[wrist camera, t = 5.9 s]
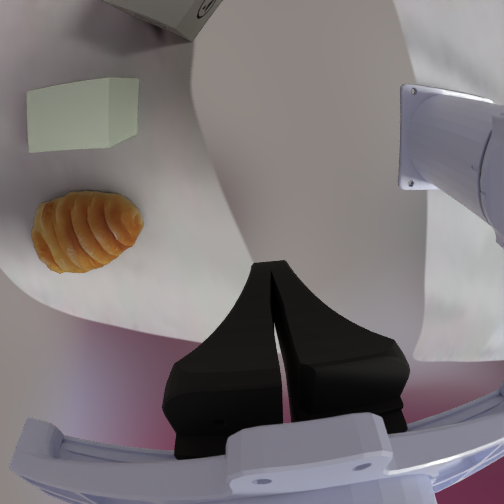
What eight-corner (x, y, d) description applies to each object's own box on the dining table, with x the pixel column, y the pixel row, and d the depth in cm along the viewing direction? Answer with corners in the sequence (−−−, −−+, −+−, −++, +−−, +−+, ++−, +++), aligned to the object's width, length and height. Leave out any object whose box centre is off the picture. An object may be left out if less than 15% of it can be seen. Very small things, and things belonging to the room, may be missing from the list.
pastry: (129, 167, 21) (109, 183, 17) (158, 246, 24) (145, 273, 21) (40, 201, 21) (15, 220, 18) (70, 267, 25) (51, 292, 21)
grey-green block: (139, 78, 17) (109, 77, 13) (137, 134, 19) (108, 148, 15) (66, 86, 17) (26, 91, 13) (67, 137, 19) (28, 153, 15)
